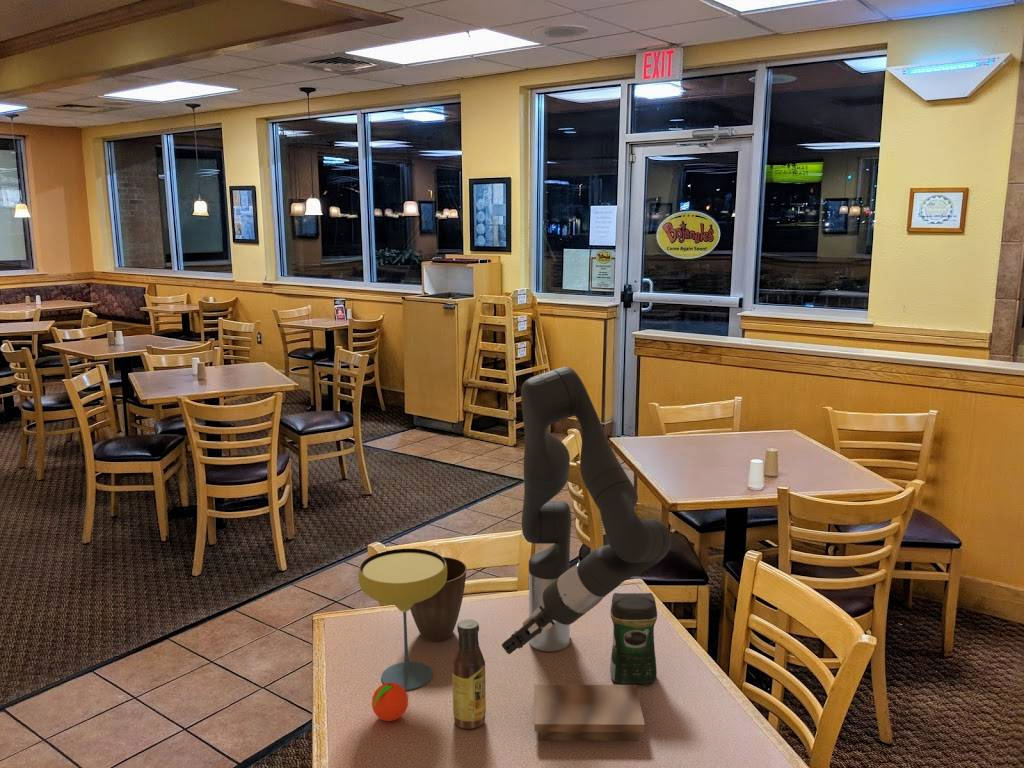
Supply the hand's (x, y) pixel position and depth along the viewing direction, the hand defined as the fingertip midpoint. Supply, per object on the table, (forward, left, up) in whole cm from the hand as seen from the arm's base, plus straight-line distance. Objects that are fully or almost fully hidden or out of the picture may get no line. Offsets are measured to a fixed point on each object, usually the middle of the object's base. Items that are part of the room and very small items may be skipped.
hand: (517, 638), depth 146 cm
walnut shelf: (-10, +9, -20) cm, 24 cm away
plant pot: (-25, -36, -20) cm, 48 cm away
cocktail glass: (-7, -31, -20) cm, 37 cm away
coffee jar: (-29, +11, -20) cm, 37 cm away
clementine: (+7, -25, -20) cm, 32 cm away
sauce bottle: (0, -11, -20) cm, 23 cm away
